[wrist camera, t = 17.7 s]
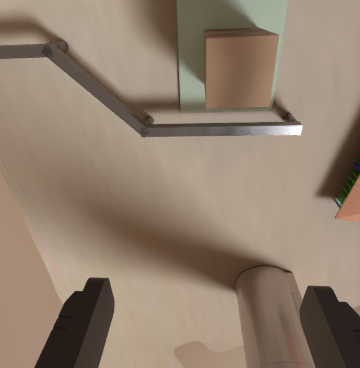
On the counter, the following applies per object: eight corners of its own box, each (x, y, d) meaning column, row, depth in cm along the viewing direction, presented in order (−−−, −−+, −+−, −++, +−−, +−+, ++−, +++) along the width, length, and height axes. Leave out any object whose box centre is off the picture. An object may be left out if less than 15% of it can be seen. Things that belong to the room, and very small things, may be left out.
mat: (289, -14, 24) (290, -14, 23) (271, 109, 30) (271, 110, 29) (176, -9, 24) (176, -9, 24) (180, 111, 30) (180, 112, 30)
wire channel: (354, -193, 18) (384, -232, 15) (291, 123, 30) (301, 135, 27) (-88, -152, 20) (-135, -179, 17) (21, 127, 33) (3, 139, 30)
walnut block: (257, 27, 25) (279, 34, 18) (252, 82, 28) (269, 106, 21) (204, 29, 25) (206, 38, 19) (204, 84, 28) (206, 108, 22)
